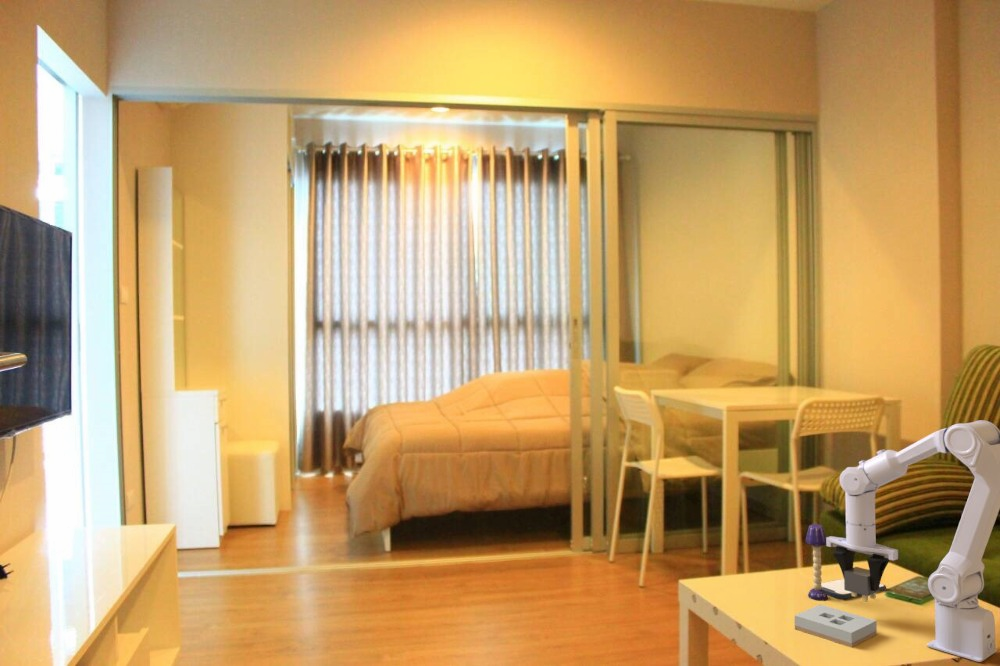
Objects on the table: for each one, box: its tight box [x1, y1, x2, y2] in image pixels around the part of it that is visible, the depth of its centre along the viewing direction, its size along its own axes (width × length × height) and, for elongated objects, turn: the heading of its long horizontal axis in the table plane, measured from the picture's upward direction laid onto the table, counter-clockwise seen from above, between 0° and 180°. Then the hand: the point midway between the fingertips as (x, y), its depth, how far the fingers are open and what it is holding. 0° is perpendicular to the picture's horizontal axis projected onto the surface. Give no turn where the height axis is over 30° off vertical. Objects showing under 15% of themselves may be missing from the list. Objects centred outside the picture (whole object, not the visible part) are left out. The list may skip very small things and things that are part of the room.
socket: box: [794, 604, 878, 648], centre depth 154 cm, size 12×10×3 cm
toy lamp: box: [805, 523, 829, 601], centre depth 174 cm, size 5×5×17 cm
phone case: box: [821, 578, 887, 601], centre depth 179 cm, size 9×2×16 cm
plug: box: [843, 566, 879, 603], centre depth 161 cm, size 5×5×6 cm
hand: (861, 586), depth 161 cm, fingers closed on plug, 5 cm apart
